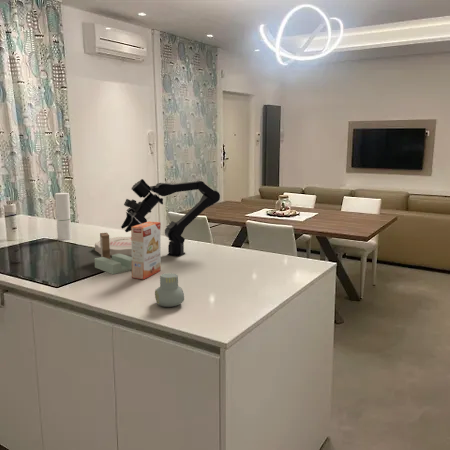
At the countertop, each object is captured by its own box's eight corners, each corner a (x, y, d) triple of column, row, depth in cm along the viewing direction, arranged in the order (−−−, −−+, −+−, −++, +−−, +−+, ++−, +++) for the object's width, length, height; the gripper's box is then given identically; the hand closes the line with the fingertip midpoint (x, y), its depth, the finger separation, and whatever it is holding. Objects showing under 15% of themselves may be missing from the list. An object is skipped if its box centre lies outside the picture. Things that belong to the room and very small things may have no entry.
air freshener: (153, 300, 154) (153, 272, 153) (177, 297, 157) (177, 269, 155) (160, 311, 144) (160, 281, 143) (185, 308, 147) (185, 278, 145)
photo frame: (110, 262, 201) (109, 235, 199) (103, 263, 200) (102, 235, 198) (108, 259, 207) (106, 232, 204) (101, 260, 206) (99, 233, 203)
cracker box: (144, 280, 176) (143, 227, 173) (131, 278, 178) (129, 226, 175) (161, 270, 189) (161, 221, 185) (149, 269, 191) (148, 220, 188)
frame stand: (94, 267, 193) (94, 258, 193) (119, 262, 202) (119, 253, 201) (113, 274, 184) (112, 264, 183) (138, 268, 193) (138, 259, 192)
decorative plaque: (85, 248, 213) (108, 235, 243) (86, 256, 214) (108, 242, 243) (148, 250, 210) (163, 237, 240) (148, 258, 211) (163, 243, 240)
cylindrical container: (66, 236, 254) (63, 192, 250) (74, 238, 250) (71, 193, 246) (55, 238, 249) (52, 193, 244) (63, 240, 245) (60, 194, 240)
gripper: (130, 190, 212) (107, 214, 210) (139, 194, 195) (114, 221, 193) (147, 206, 217) (124, 230, 214) (157, 212, 200) (132, 238, 197)
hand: (123, 229), depth 205 cm, fingers open, 9 cm apart
